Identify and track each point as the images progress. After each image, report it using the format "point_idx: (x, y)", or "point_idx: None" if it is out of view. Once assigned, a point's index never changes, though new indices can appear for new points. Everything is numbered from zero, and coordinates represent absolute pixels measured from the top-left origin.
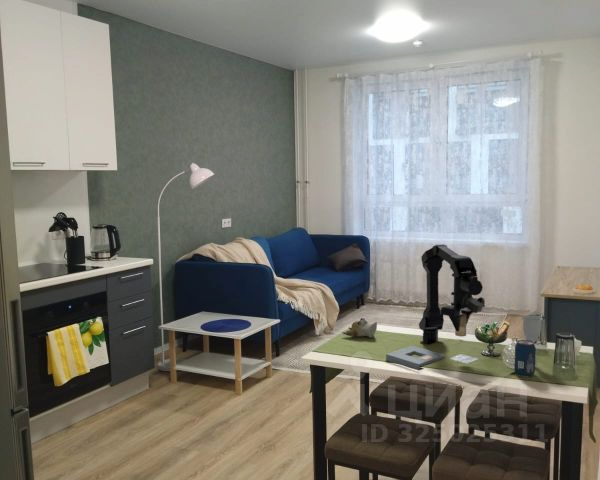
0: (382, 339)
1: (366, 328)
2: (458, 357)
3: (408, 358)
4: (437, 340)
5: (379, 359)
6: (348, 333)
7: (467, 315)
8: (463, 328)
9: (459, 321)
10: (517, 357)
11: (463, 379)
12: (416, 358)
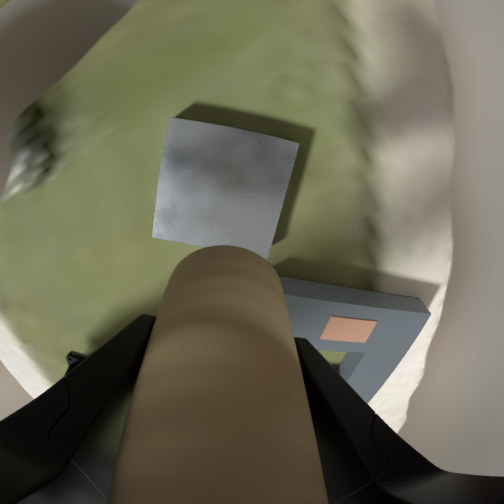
0: None
1: None
2: (219, 225)
3: (380, 365)
4: (71, 368)
5: None
6: None
7: (65, 480)
8: (272, 320)
9: (371, 440)
10: None
11: (448, 117)
12: (372, 350)
